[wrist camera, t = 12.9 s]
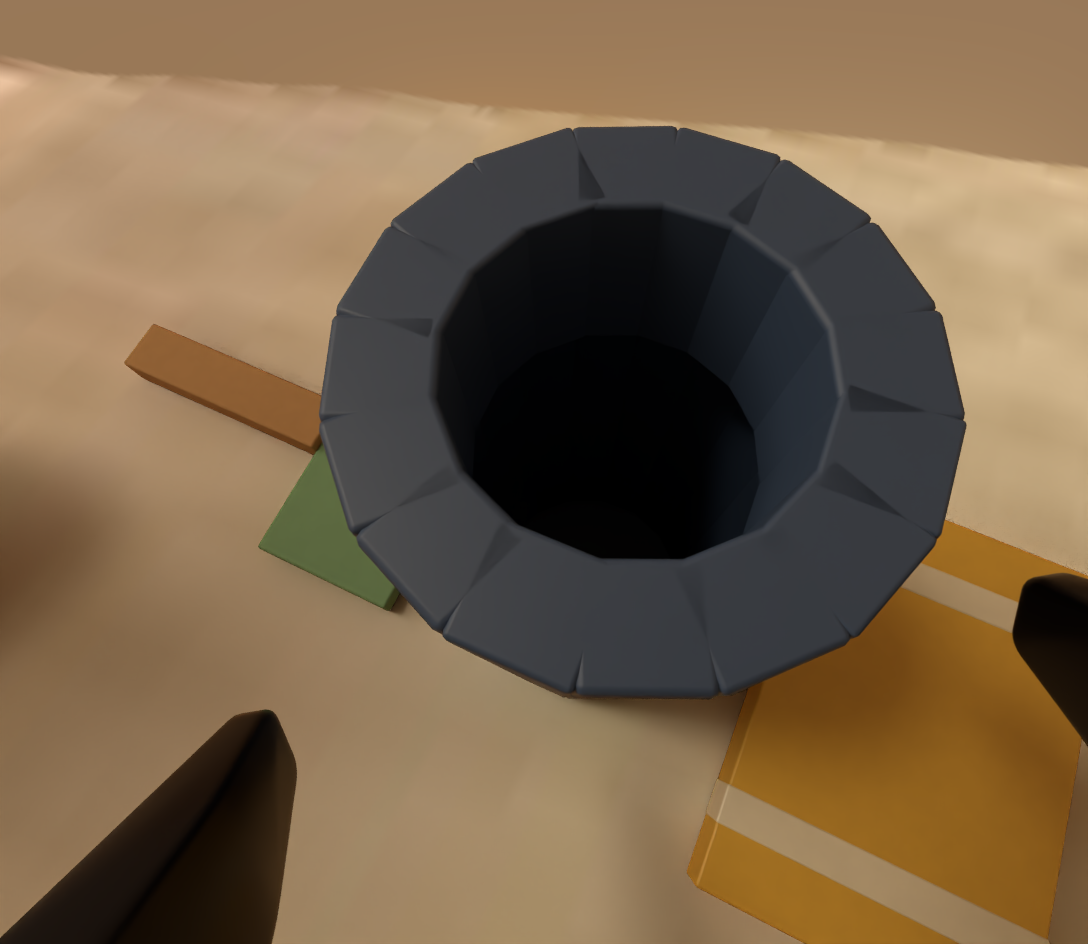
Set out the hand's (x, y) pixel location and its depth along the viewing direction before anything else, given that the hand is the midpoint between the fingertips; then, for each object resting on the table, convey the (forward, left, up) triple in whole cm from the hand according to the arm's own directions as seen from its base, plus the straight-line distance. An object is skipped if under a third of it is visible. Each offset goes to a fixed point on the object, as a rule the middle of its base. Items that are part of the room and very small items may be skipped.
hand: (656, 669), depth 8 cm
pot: (+2, -2, -10) cm, 11 cm away
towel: (-7, -2, -10) cm, 13 cm away
